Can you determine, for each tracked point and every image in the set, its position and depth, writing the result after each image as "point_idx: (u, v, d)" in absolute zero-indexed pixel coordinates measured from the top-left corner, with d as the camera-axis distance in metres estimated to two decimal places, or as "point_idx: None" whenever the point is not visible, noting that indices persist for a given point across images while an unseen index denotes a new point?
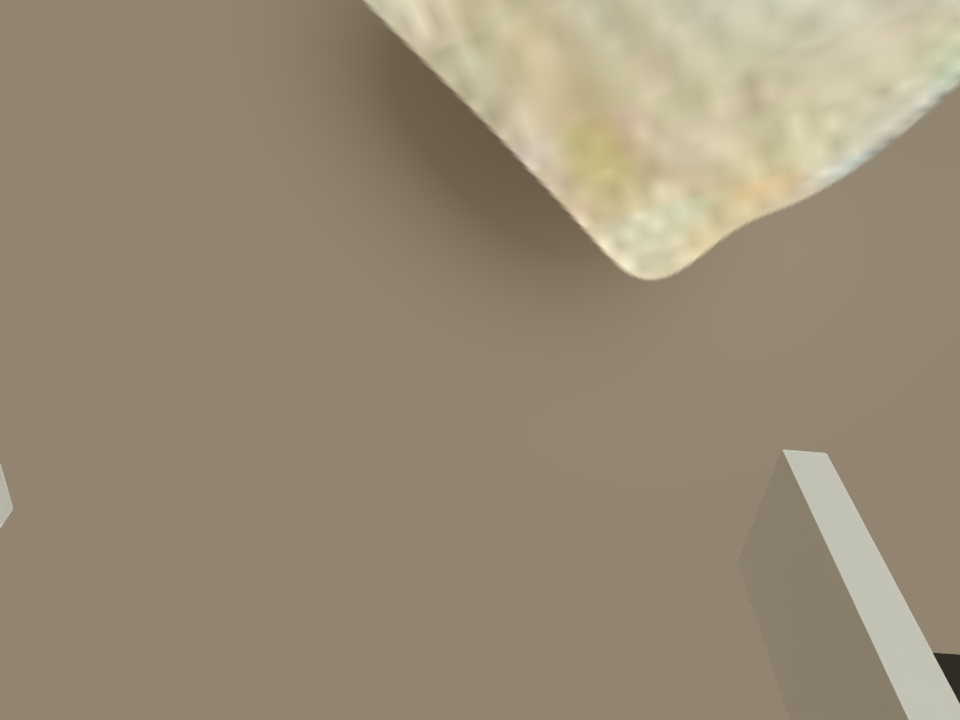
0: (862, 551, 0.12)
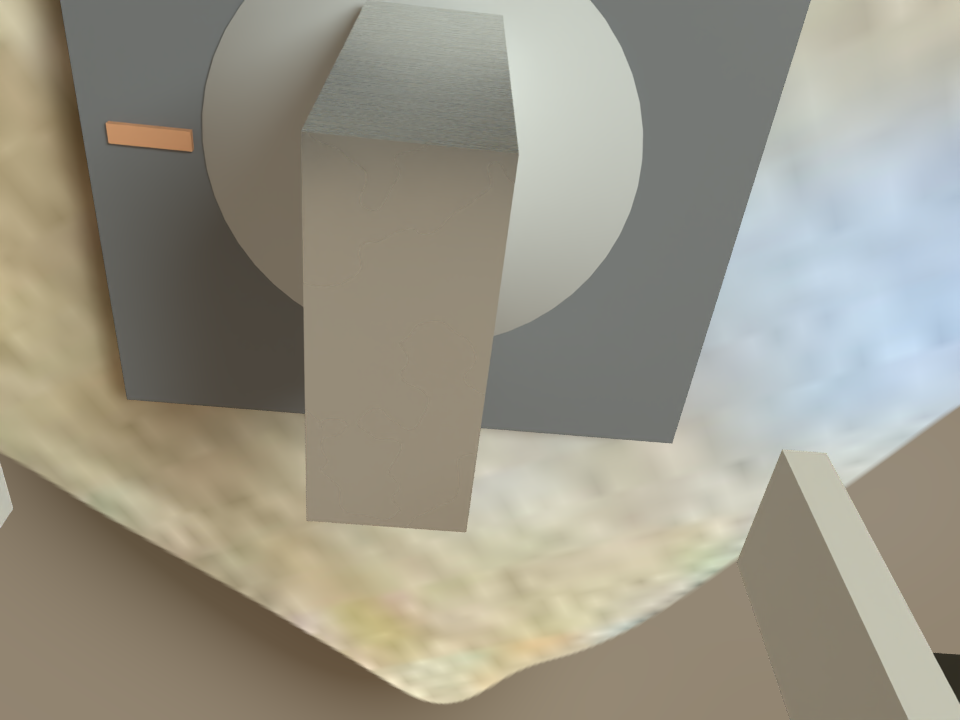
0: (862, 551, 0.12)
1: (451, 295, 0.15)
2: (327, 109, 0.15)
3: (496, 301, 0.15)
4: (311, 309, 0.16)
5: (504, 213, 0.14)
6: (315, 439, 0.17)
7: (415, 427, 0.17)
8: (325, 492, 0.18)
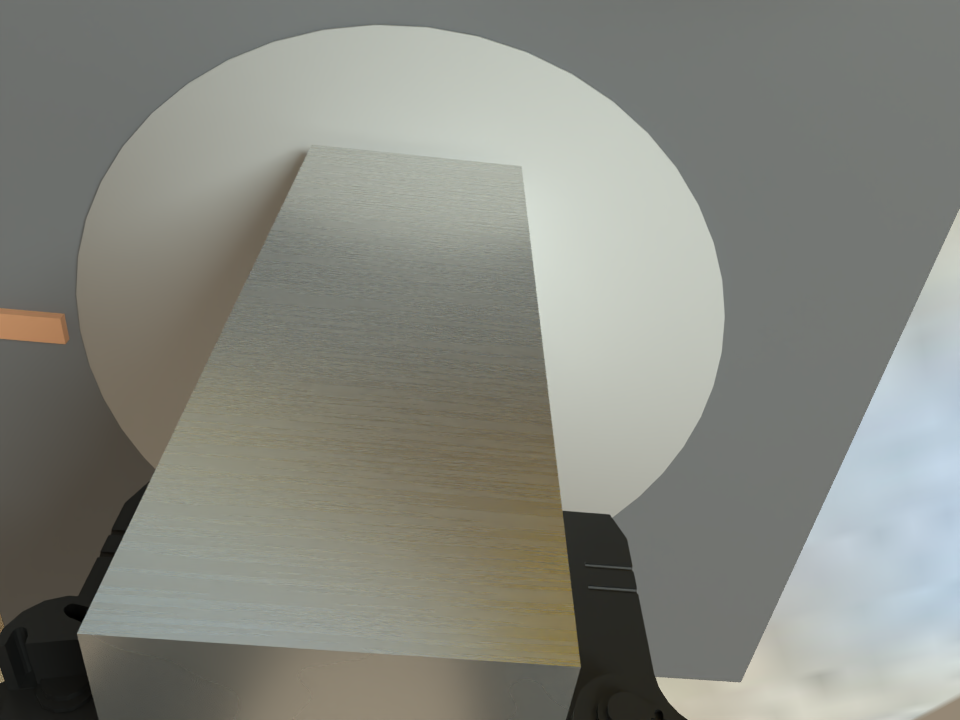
0: None
1: None
2: (167, 514, 0.07)
3: None
4: None
5: None
6: None
7: None
8: None
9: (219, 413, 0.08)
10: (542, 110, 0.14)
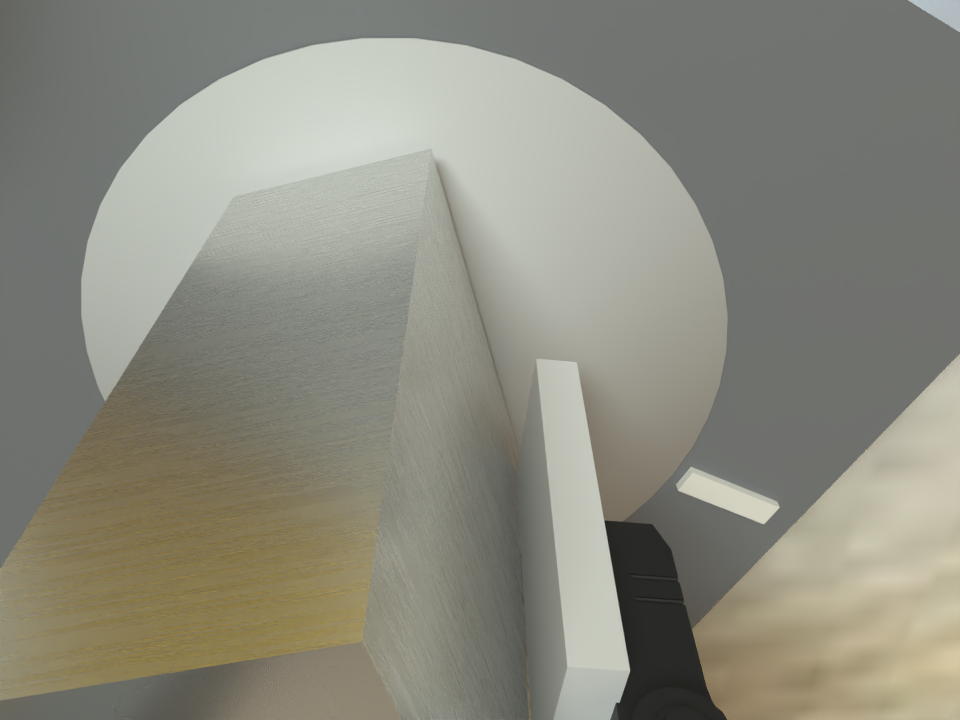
0: (574, 437, 0.13)
1: None
2: (13, 586, 0.07)
3: None
4: None
5: None
6: None
7: None
8: None
9: (83, 477, 0.08)
10: (179, 170, 0.15)
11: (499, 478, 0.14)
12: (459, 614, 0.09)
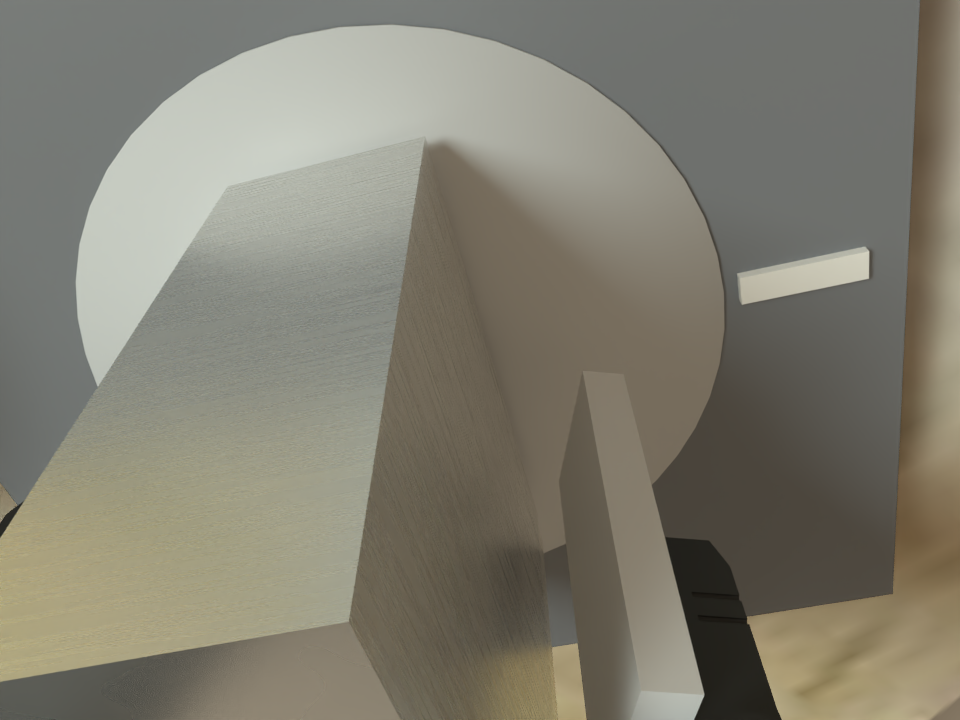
0: (628, 451, 0.13)
1: None
2: (2, 570, 0.07)
3: None
4: None
5: (384, 711, 0.06)
6: None
7: None
8: None
9: (73, 464, 0.08)
10: (120, 326, 0.17)
11: (495, 467, 0.14)
12: (452, 599, 0.09)
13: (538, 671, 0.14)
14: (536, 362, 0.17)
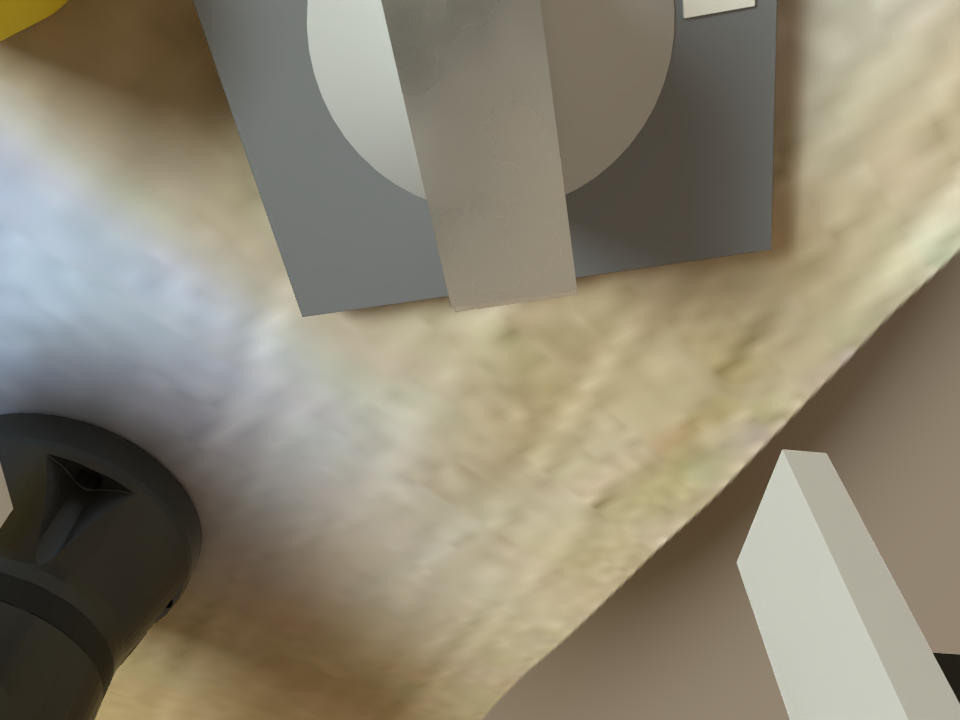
0: (862, 551, 0.12)
1: (512, 74, 0.20)
2: None
3: (547, 70, 0.20)
4: (413, 115, 0.21)
5: None
6: (441, 230, 0.22)
7: (514, 200, 0.22)
8: (459, 277, 0.23)
9: None
10: (329, 8, 0.29)
11: None
12: None
13: None
14: (565, 51, 0.30)
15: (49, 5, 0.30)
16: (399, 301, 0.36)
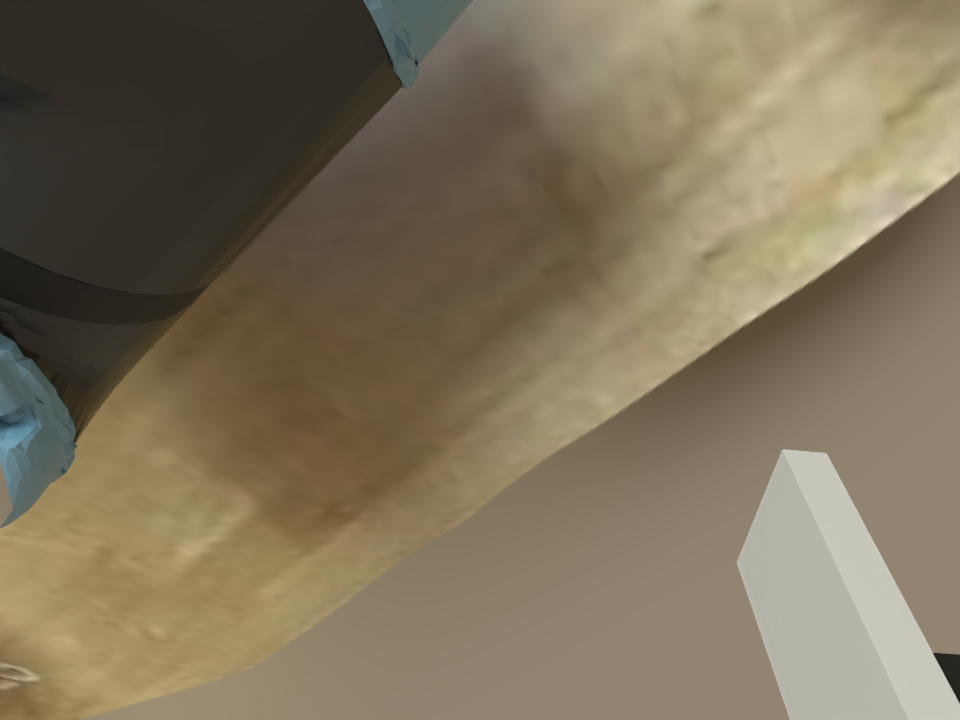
0: (862, 551, 0.12)
1: None
2: None
3: None
4: None
5: None
6: None
7: None
8: None
9: None
10: None
11: None
12: None
13: None
14: None
15: None
16: None
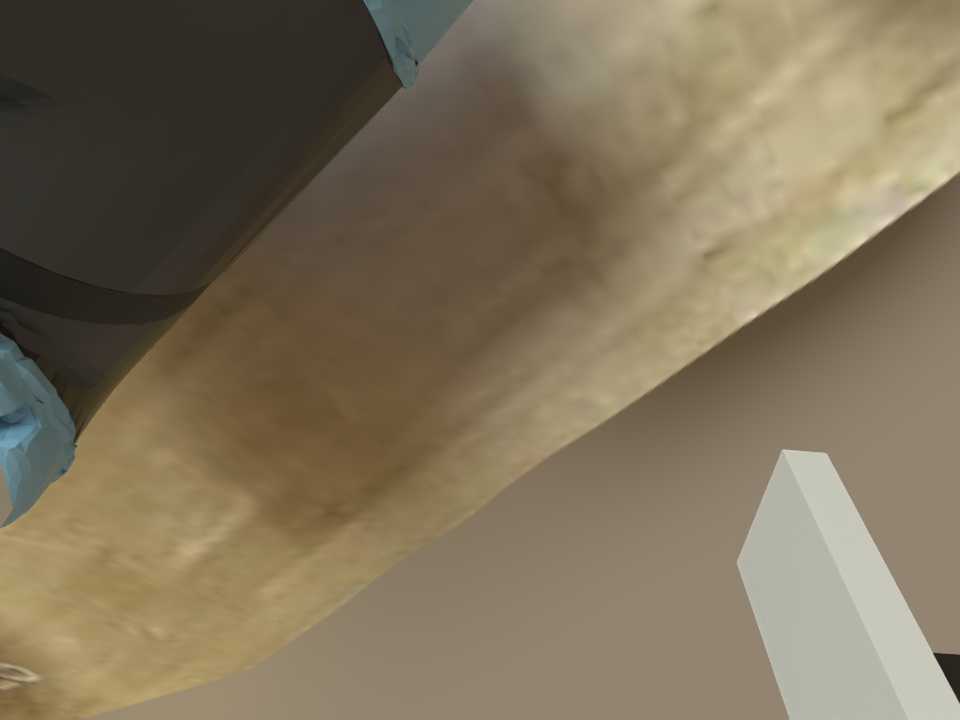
0: (862, 551, 0.12)
1: None
2: None
3: None
4: None
5: None
6: None
7: None
8: None
9: None
10: None
11: None
12: None
13: None
14: None
15: None
16: None
